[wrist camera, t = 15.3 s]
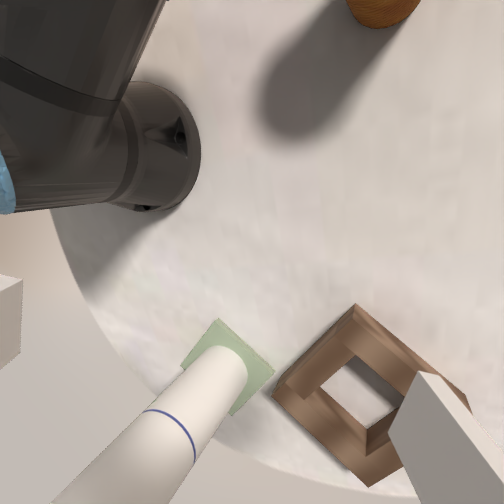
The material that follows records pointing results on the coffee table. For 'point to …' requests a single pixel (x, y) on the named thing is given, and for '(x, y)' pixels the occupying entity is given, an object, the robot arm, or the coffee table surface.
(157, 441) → the cylindrical container
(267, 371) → the green mat
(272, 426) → the coffee table surface
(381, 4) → the disposable coffee cup
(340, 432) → the frame
